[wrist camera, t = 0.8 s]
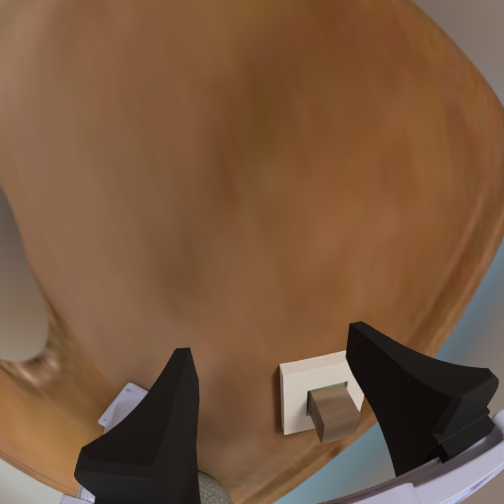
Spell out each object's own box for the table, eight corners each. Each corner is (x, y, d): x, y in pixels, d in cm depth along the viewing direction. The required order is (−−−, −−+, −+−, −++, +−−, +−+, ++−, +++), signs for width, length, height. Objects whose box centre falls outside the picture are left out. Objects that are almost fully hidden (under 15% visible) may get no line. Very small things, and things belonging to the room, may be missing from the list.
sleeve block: (353, 407, 30) (359, 417, 28) (281, 424, 29) (284, 436, 27) (366, 345, 27) (373, 355, 25) (279, 364, 26) (283, 376, 24)
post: (336, 396, 29) (355, 435, 23) (305, 403, 28) (320, 444, 23) (339, 374, 27) (361, 414, 22) (306, 381, 27) (324, 425, 21)
